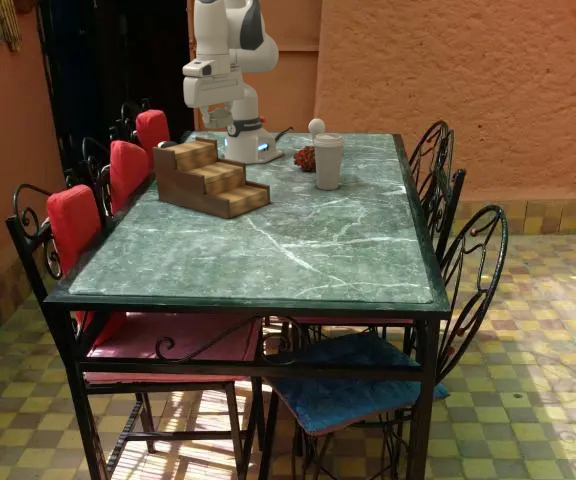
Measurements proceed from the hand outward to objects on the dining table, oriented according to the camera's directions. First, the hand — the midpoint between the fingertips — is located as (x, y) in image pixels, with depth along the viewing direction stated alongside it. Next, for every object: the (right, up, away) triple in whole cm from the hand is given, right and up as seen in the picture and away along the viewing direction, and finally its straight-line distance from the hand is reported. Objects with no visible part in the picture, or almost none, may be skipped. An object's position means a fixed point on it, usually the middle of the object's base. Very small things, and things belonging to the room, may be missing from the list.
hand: (217, 121), depth 177 cm
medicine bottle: (-18, -8, +28) cm, 34 cm away
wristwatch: (0, -2, +1) cm, 2 cm away
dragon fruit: (+26, -1, +38) cm, 46 cm away
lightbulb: (+30, +15, +62) cm, 70 cm away
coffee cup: (+32, -12, +21) cm, 40 cm away
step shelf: (-2, -20, +10) cm, 22 cm away
